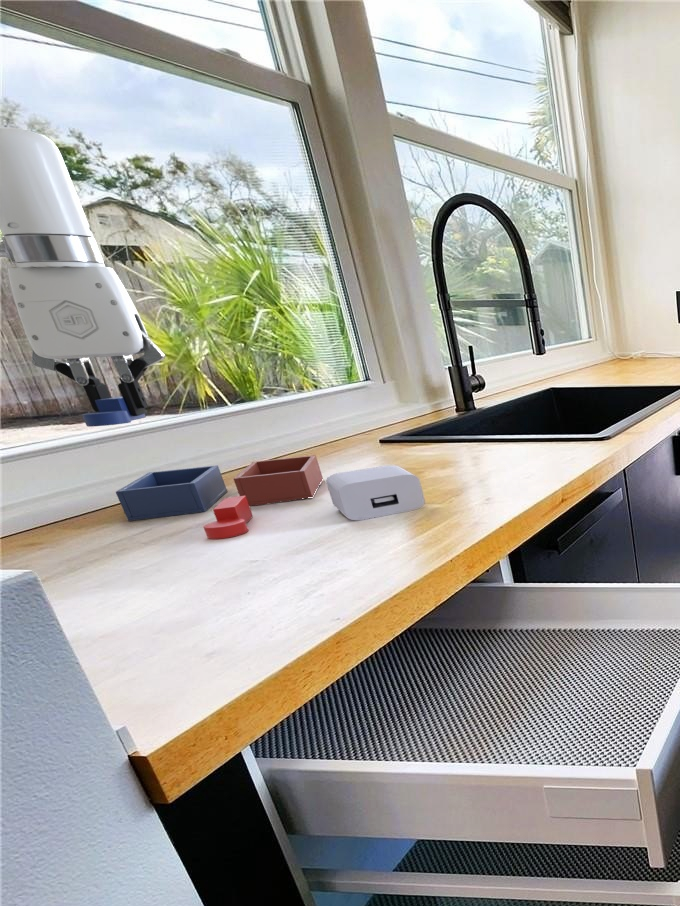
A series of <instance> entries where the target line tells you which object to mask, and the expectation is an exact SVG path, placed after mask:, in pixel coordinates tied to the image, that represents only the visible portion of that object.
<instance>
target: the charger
mask: <svg viewBox="0 0 680 906" xmlns="http://www.w3.org/2000/svg"><path fill="white" fill-rule="evenodd" d="M325 483H326V485H327V489H328V492H329V495H330V499H331V502H332V504H333V507H335V508H336V509H337V510H338V511H339V512H341V514H343V515H344V516H345V517H346V518H347V519H349V520H351V521H364V519H365V520H370V519H374V517H376V518H380V516H381V517H385V516H391V515H395V514H400V513H406V512H411V511H416V510H419V509H420V508H422V507H424V505H425V504H426V499H425V497H424V491H423V488H422V484H421V480H420V478H419V476H417V475H415V474H413V473H411V472H409V471H407V470H406V469H404V468H402V467H400V466H398V465H393V464H389V465H381V466H374V467H368V468H362V469H356V470H355V469H354V470H349V471H342V472H337V473H333V474H331V475H329V476H327V477H326V479H325ZM369 518H370V519H369Z"/></svg>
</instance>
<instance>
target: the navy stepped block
mask: <svg viewBox="0 0 680 906" xmlns="http://www.w3.org/2000/svg"><path fill="white" fill-rule="evenodd" d="M95 402H96V404H97V407H98V409H99V411H98V412H96V411H95V412H88V413H82V414H81V416H82V419H83V420H84V423H85V425H86V427H87V428H88V427H91V428H92V427H93V428H94V427H105V426H115V425H116V426H117V425H123V424H129V423H130V424H131V423H132V421H135V420H141V419H144V418H147V416H146V413H145V414H142V415H139V416H132V415H130V413H129V410H128V408H127V406H126V403H125V401H124V398H123V397H122V396H113V397H112V396H111V398H106V399H100V400H95Z"/></svg>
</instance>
